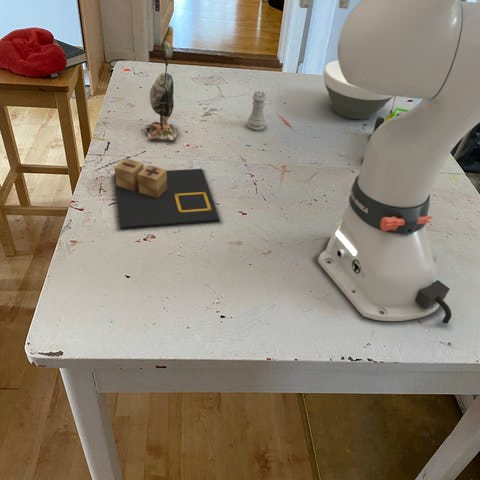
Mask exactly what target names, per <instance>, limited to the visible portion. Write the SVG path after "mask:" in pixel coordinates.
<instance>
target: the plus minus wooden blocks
mask: <svg viewBox="0 0 480 480" xmlns="http://www.w3.org/2000/svg"><path fill="white" fill-rule="evenodd" d="M167 171H168V170H167V169H164V168H161V167H158V166H154V165H151V164H147V165H146V166H145V165H144V162H140V161H136V160H134V159H131V158H126V157H125V158H123V159H122V160H121V161H120V162H119V163H117V164H116V165H115V166H114V174H115V177H116V185H117V186H119V187H122V188H126V189H129V190H132V191H135V190H136V189H137V188H138V187H139V193H142V194H145V195H149V196H152V197H155V198H158V197H159V196H160V195H161V194H162V193H163V192H164V191H165V190H166V189H167Z"/></svg>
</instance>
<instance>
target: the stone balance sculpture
mask: <svg viewBox="0 0 480 480" xmlns="http://www.w3.org/2000/svg"><path fill="white" fill-rule="evenodd" d="M161 49H162V50H161V51H162V57H161V58H162V60H163V61H165V63H164V64H165V72H162V73H161V74H159V75H158V76H157V78H156V80H155V81H154V83H153V84H152V86H151V88H150V90H149V102H150V105H151V109H152V111H153V112H154V113H155V114H157V115H159V121H154V122H153V121H152V123H151V124H146V126H145V128H144V132H146V133H145V134H146V135H147V136H148V140H150V141H151V140H155V139H159V140H163V141H165V140H166V141H169V142H173V141H176V139H177V136H178V134H179V129H178V128H176V127H175V126H174V125H173V124H172V123H170V124H169V123H168V121H169V119H170V118H171V116H172V114H173V110H174V107H175V106H174V105H175V104H174V102H175V101H174V79H173V76H172V75H171V74H170V73H168V72H167V71H168V66H169V60H171V59H172V58H173V54H174V53H173V49H172V46H171V44H170V43H169V42H168V40H165V41H163V42H162V45H161ZM171 73H174V71H171Z"/></svg>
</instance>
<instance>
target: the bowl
mask: <svg viewBox="0 0 480 480" xmlns="http://www.w3.org/2000/svg"><path fill="white" fill-rule="evenodd" d="M323 81H324V86H325V88H326V90H327V92H328V97H329V99H330V102H331V103H332V108H333V110H334V111H335V112H336V113H337V114H339V115H340V116H342V117H344V118H348V119H352V120H366V119H371V118H372V117H374V116H375V115H376V114H377V112H378V111H380V110H381V109H383V108H384V107H385V105H386V104H387V103H388V102H390V101H391V100H392V99H393V97H394V96H390V95H381V94H377V93H374V92H371V91H368V90H365V89H362V88H359V87H357V86H354V85H351V84H349V83H348V82H347V81H346V79H345V78H344V76H343V74H342V72H341V69H340V66H339V61H338V59H337V60H333V61H330V62H328V63H327V64H326V65H325V66H324V70H323Z"/></svg>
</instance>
